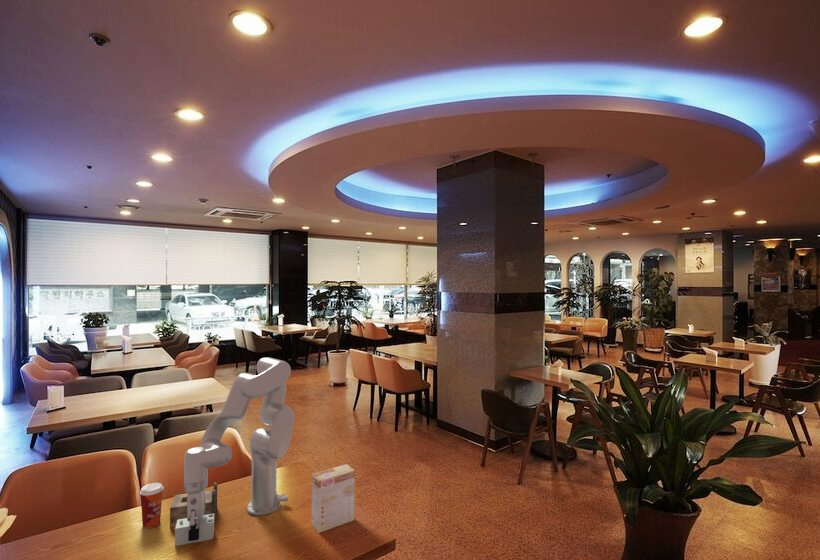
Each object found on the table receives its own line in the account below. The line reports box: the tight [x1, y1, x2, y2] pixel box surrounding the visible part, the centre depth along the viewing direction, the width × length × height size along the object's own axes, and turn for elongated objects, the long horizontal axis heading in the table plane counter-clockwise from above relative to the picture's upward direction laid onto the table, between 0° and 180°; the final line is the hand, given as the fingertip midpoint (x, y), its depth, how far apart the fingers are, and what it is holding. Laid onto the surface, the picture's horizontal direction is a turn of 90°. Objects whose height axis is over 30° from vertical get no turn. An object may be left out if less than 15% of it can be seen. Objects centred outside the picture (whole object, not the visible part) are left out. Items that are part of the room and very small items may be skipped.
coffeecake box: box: [311, 463, 356, 534], centre depth 166 cm, size 15×7×20 cm, turn 126°
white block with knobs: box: [174, 514, 215, 547], centre depth 155 cm, size 12×6×7 cm, turn 111°
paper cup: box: [139, 482, 164, 529], centre depth 163 cm, size 8×8×14 cm
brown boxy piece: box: [169, 482, 218, 527], centre depth 169 cm, size 15×10×10 cm, turn 108°
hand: (195, 533), depth 155 cm, fingers closed on white block with knobs, 6 cm apart
